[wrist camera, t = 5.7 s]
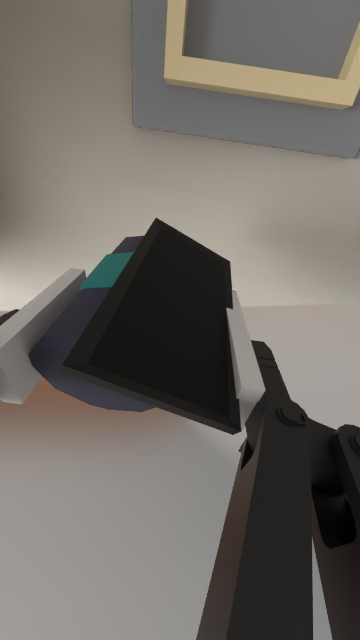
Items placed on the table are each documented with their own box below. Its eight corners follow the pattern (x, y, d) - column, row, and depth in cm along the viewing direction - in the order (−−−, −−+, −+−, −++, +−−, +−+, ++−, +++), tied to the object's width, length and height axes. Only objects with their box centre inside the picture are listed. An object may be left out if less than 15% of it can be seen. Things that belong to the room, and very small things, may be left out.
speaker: (171, 183, 11) (86, 302, 4) (231, 263, 14) (256, 431, 6) (93, 264, 15) (-30, 407, 7) (151, 315, 18) (105, 459, 10)
